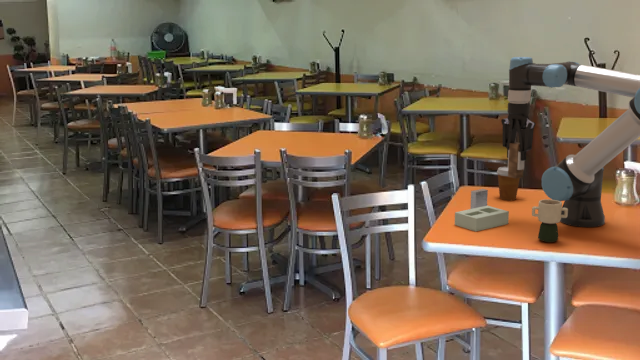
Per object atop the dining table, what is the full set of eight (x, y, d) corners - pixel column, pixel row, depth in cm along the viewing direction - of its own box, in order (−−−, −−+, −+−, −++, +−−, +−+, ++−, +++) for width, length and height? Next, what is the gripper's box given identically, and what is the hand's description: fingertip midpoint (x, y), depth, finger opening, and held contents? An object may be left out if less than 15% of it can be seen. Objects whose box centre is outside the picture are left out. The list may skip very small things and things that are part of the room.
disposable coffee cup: (491, 199, 289) (493, 169, 286) (500, 194, 297) (502, 165, 294) (515, 202, 284) (516, 172, 281) (523, 197, 291) (525, 168, 289)
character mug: (564, 238, 237) (567, 199, 234) (566, 245, 230) (569, 205, 228) (529, 236, 240) (532, 198, 237) (530, 243, 233) (533, 203, 230)
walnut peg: (522, 177, 258) (524, 143, 255) (515, 178, 256) (517, 144, 253) (514, 175, 261) (516, 142, 258) (508, 176, 259) (509, 143, 256)
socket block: (508, 223, 255) (508, 211, 254) (475, 231, 246) (476, 218, 245) (486, 217, 263) (487, 205, 262) (454, 224, 254) (455, 212, 253)
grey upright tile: (486, 213, 268) (487, 189, 266) (475, 216, 265) (476, 192, 263) (481, 212, 270) (482, 188, 268) (470, 214, 267) (471, 190, 265)
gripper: (545, 103, 248) (541, 171, 253) (507, 99, 261) (505, 163, 267) (531, 105, 244) (527, 173, 249) (493, 100, 257) (490, 166, 262)
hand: (515, 168), depth 258 cm, fingers closed on walnut peg, 4 cm apart
